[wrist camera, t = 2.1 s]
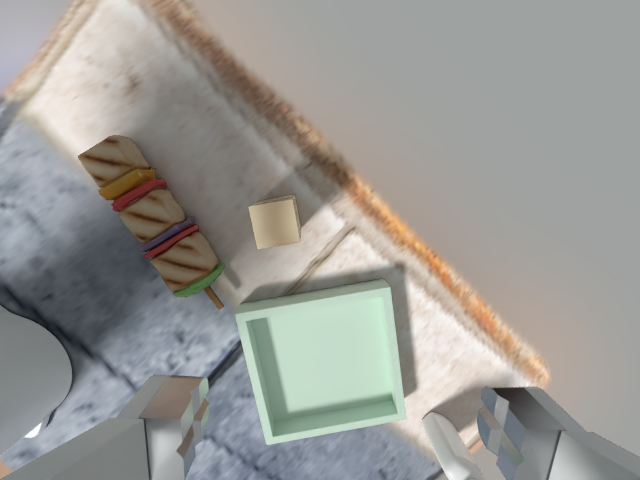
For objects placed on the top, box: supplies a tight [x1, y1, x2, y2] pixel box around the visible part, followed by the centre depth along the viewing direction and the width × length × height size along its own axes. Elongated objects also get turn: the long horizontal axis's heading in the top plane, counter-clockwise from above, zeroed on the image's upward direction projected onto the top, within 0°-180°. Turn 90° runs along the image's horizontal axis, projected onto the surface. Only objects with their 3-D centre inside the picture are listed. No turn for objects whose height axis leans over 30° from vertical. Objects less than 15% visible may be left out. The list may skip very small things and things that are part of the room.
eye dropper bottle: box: [421, 412, 485, 480], centre depth 36 cm, size 4×6×12 cm
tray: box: [235, 278, 406, 445], centre depth 38 cm, size 18×18×3 cm
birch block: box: [248, 195, 301, 250], centre depth 31 cm, size 4×4×8 cm
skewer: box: [78, 135, 225, 309], centre depth 33 cm, size 21×6×5 cm, turn 31°
